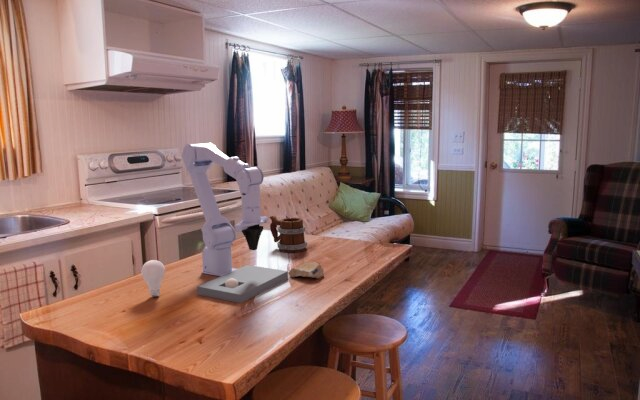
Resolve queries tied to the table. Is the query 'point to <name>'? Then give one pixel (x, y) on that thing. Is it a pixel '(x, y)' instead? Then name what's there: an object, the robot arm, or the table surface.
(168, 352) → the table surface
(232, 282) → the ball
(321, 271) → the stone
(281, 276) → the plate
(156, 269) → the light bulb
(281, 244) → the mug
